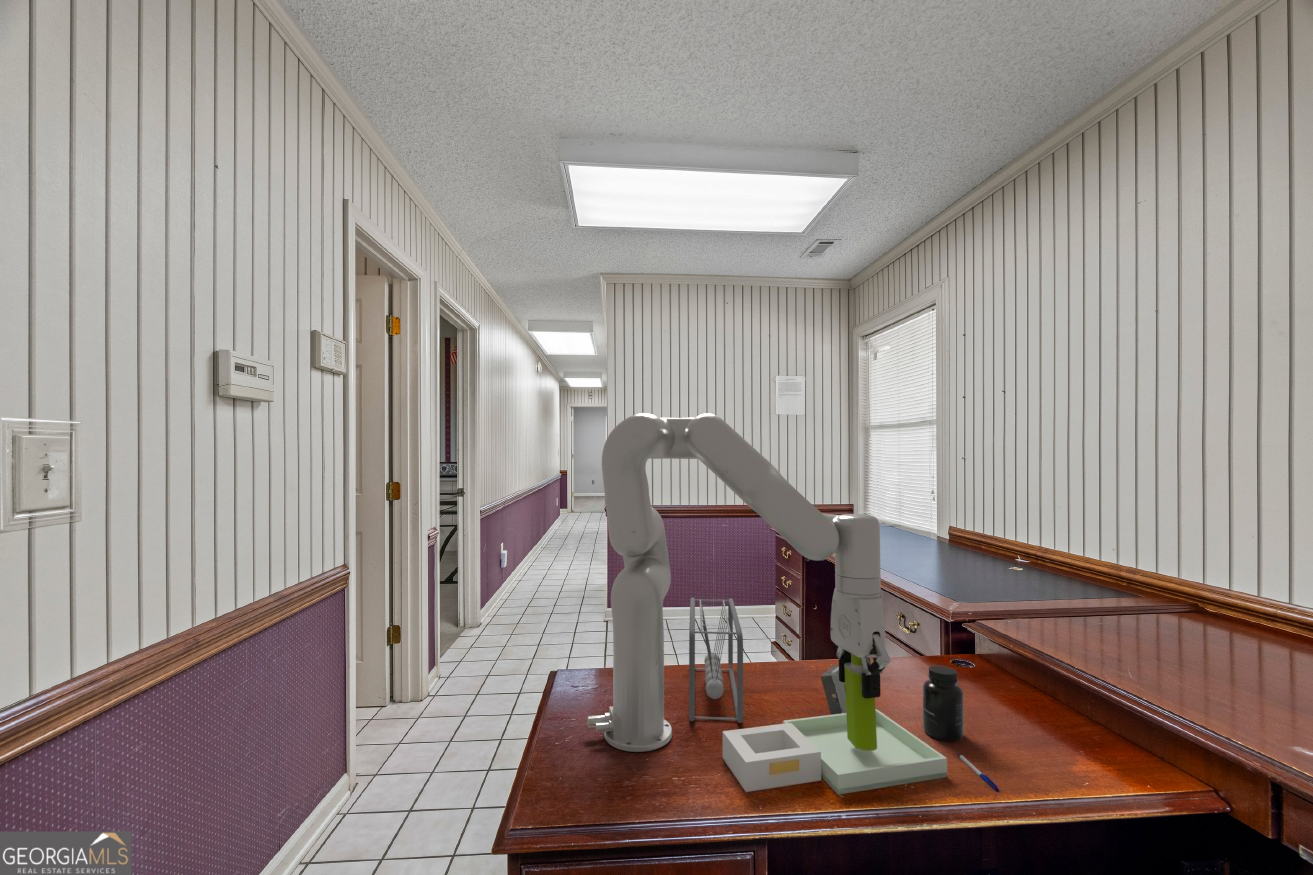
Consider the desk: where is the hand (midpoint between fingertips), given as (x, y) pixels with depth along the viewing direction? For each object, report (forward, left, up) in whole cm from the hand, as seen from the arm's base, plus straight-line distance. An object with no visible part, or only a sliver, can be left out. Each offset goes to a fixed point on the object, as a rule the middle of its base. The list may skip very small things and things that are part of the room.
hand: (859, 687), depth 96 cm
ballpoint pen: (+16, -9, -12) cm, 22 cm away
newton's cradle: (-16, +30, -12) cm, 36 cm away
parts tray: (0, 0, -12) cm, 12 cm away
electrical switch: (+7, +16, -12) cm, 21 cm away
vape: (0, -1, -9) cm, 9 cm away
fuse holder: (-17, 0, -12) cm, 21 cm away
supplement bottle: (+20, +3, -12) cm, 23 cm away
